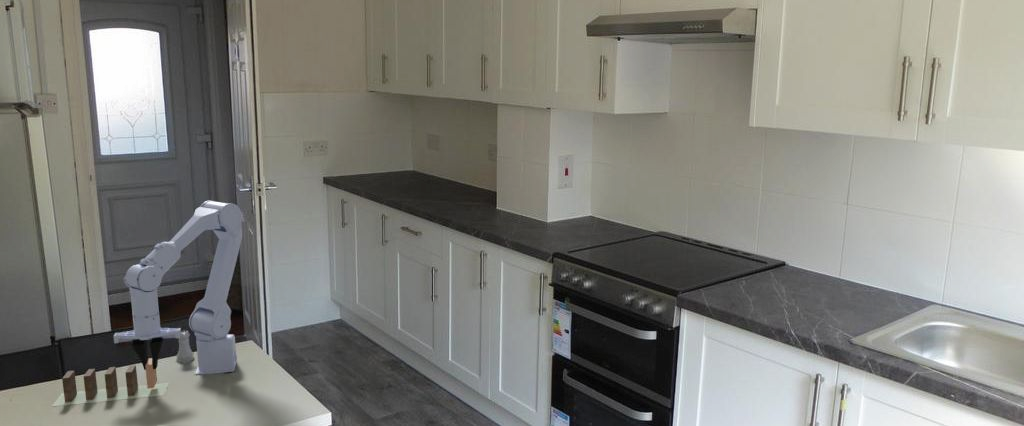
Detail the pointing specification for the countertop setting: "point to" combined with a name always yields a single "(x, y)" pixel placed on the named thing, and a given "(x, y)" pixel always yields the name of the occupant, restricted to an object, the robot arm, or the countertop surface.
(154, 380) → the terracotta domino
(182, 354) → the rook chess piece
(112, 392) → the domino
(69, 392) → the domino
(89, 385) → the domino
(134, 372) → the domino
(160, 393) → the sage mat
